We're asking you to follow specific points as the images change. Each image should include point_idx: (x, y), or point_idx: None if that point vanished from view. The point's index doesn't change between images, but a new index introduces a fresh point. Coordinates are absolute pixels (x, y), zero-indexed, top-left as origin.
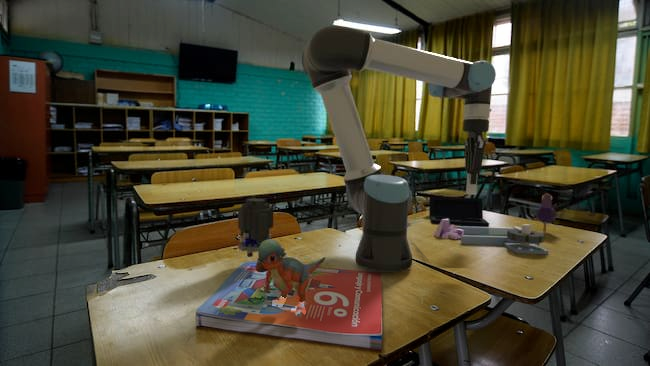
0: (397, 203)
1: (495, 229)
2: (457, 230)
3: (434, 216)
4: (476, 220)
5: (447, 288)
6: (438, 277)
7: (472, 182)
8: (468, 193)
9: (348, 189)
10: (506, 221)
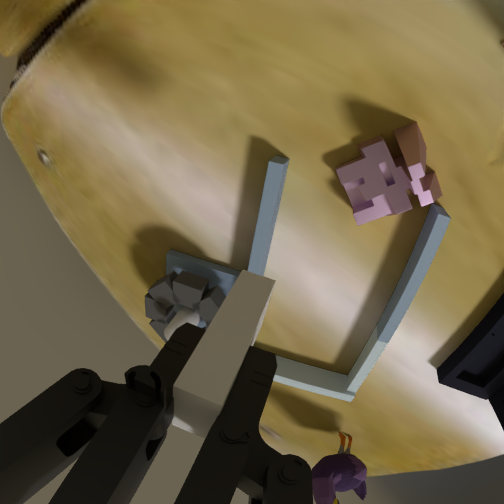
0: None
1: (368, 351)
2: (371, 204)
3: None
4: (489, 378)
5: (20, 13)
6: (47, 3)
7: (176, 334)
8: (239, 278)
9: None
10: (465, 437)
